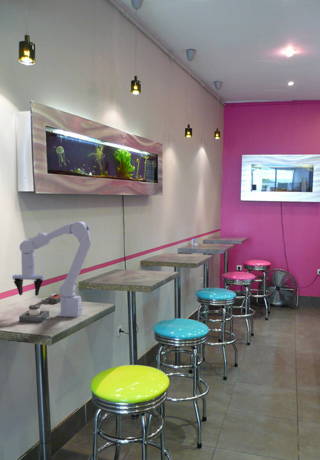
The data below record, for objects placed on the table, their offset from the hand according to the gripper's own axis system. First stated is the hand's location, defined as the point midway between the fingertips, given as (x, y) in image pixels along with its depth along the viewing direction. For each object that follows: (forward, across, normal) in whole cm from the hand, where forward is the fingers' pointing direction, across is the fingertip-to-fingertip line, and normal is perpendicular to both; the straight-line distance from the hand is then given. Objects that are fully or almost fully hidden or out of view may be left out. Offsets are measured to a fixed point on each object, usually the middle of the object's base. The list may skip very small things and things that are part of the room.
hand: (28, 294), depth 196 cm
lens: (+9, -5, +7) cm, 13 cm away
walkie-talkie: (+10, -2, -23) cm, 25 cm away
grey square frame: (+9, -5, +6) cm, 12 cm away
